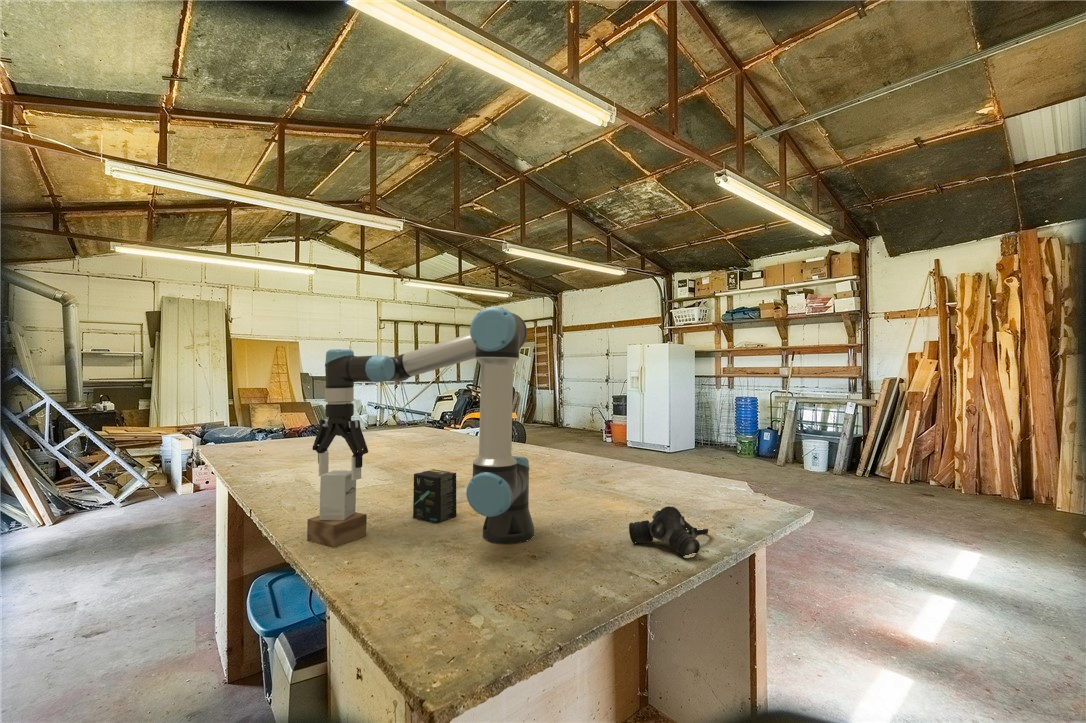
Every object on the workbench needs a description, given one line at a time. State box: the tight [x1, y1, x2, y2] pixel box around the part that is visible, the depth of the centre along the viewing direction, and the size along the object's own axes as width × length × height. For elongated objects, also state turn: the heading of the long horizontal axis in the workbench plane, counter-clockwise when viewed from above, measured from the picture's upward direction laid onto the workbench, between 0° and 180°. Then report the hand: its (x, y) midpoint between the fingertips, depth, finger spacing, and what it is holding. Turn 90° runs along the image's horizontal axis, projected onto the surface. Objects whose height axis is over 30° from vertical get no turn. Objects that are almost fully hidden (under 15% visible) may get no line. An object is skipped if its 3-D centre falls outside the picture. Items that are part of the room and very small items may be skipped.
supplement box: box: [319, 469, 357, 521], centre depth 133 cm, size 7×7×13 cm
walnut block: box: [306, 511, 368, 548], centre depth 133 cm, size 11×11×6 cm
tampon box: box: [412, 469, 458, 524], centre depth 152 cm, size 11×9×15 cm
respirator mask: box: [628, 505, 709, 557], centre depth 131 cm, size 20×22×15 cm
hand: (339, 477), depth 133 cm, fingers open, 13 cm apart
